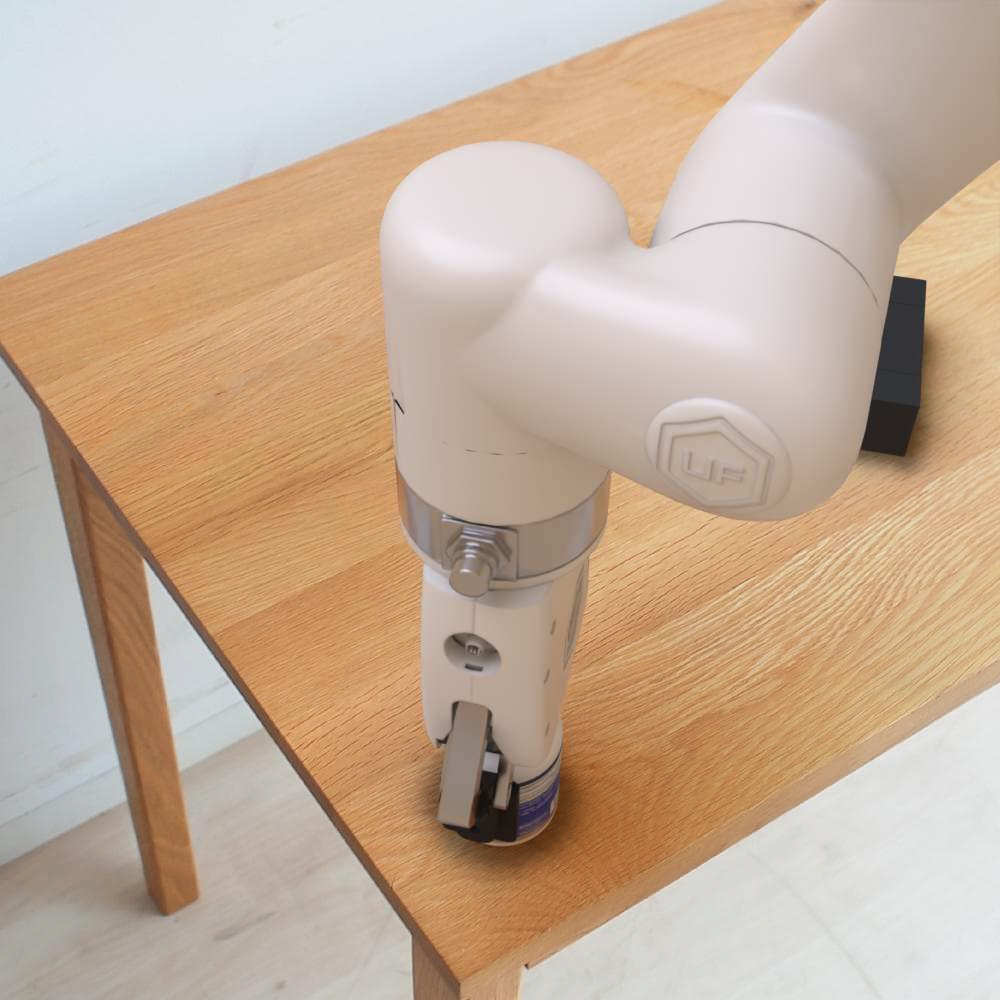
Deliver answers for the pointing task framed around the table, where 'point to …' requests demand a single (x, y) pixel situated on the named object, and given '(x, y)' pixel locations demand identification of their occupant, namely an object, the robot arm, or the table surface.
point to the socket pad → (898, 370)
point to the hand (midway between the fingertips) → (502, 749)
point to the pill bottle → (533, 790)
